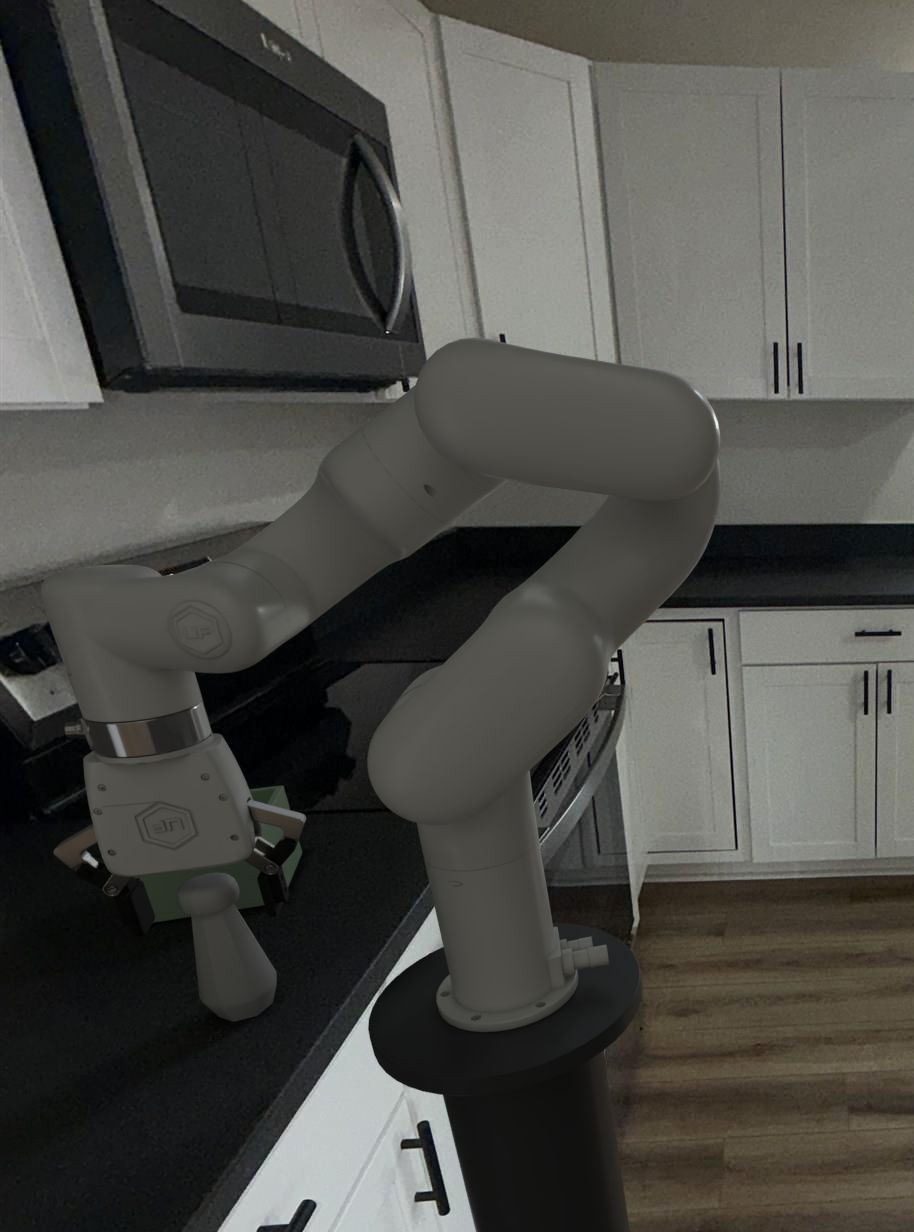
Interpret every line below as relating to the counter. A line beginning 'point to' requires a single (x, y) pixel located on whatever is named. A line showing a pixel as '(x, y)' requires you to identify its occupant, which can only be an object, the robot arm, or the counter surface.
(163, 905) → the bin
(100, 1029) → the counter surface
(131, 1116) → the counter surface
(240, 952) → the salt shaker
